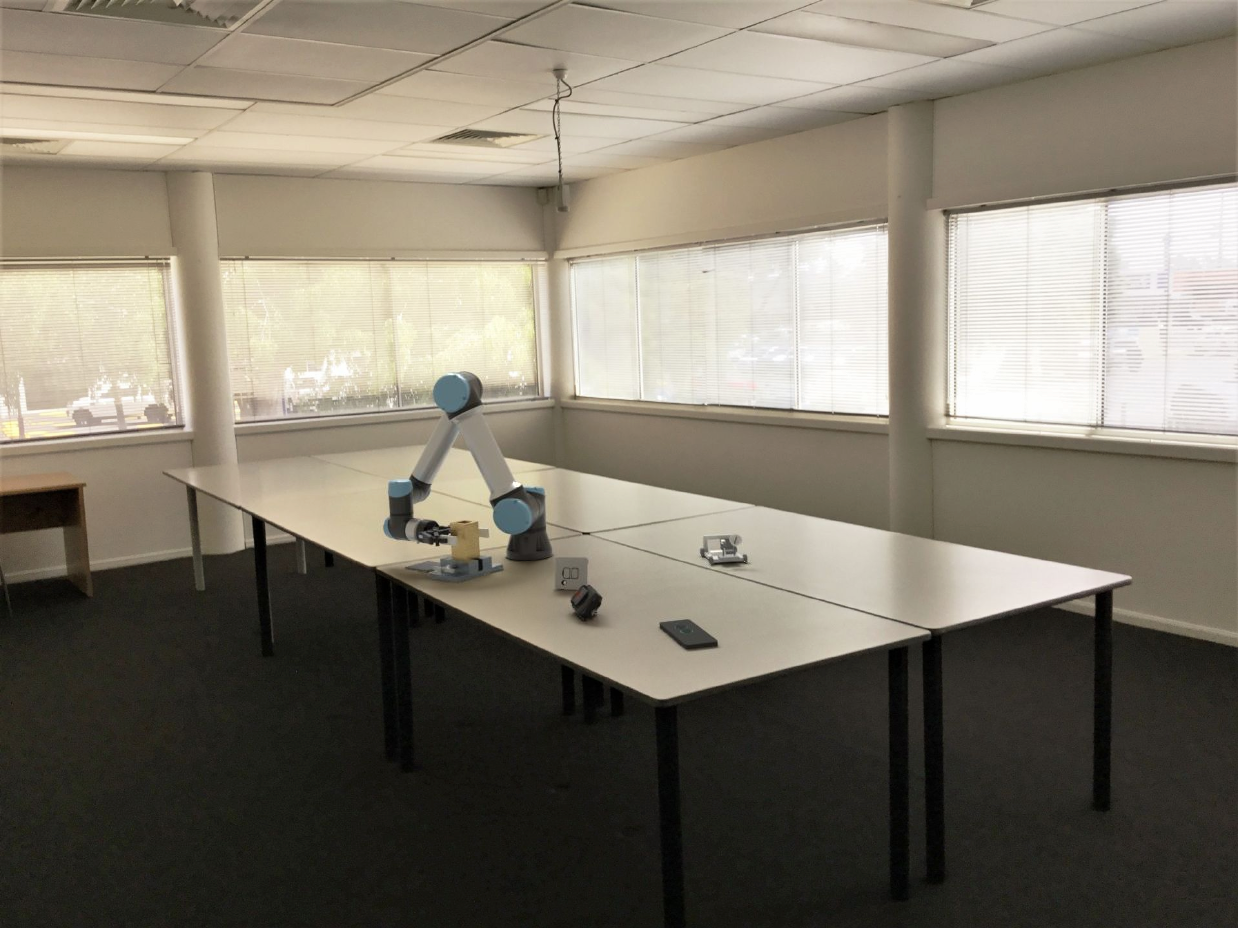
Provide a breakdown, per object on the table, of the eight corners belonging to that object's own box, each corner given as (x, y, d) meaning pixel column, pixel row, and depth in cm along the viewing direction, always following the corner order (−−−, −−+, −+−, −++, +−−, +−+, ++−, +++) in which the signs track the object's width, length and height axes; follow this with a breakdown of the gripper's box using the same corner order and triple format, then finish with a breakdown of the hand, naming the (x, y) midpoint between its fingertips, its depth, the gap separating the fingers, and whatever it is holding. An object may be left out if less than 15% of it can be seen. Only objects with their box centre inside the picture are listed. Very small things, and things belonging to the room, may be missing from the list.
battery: (586, 614, 274) (565, 601, 272) (604, 589, 274) (583, 576, 271) (594, 631, 263) (572, 617, 261) (613, 605, 262) (591, 591, 260)
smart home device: (689, 618, 257) (719, 640, 238) (689, 624, 258) (719, 647, 238) (657, 621, 255) (685, 644, 236) (657, 628, 255) (685, 651, 236)
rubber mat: (428, 562, 335) (428, 560, 335) (450, 565, 329) (450, 564, 329) (405, 568, 327) (404, 566, 327) (427, 572, 321) (427, 570, 321)
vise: (475, 564, 329) (473, 521, 328) (503, 569, 322) (501, 524, 321) (429, 578, 313) (426, 532, 312) (457, 582, 306) (455, 536, 305)
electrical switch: (554, 590, 294) (554, 557, 294) (559, 587, 299) (559, 555, 299) (586, 591, 292) (586, 558, 292) (590, 588, 298) (590, 556, 297)
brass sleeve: (465, 554, 321) (464, 519, 320) (479, 556, 318) (478, 521, 316) (451, 558, 317) (450, 522, 315) (466, 560, 313) (464, 524, 312)
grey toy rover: (749, 535, 317) (712, 537, 315) (750, 566, 318) (713, 568, 316) (734, 524, 334) (699, 526, 333) (735, 554, 335) (700, 556, 334)
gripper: (452, 535, 337) (501, 541, 325) (394, 550, 317) (443, 557, 305) (451, 513, 336) (499, 518, 324) (392, 526, 316) (442, 532, 304)
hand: (472, 537), depth 314 cm, fingers open, 13 cm apart
